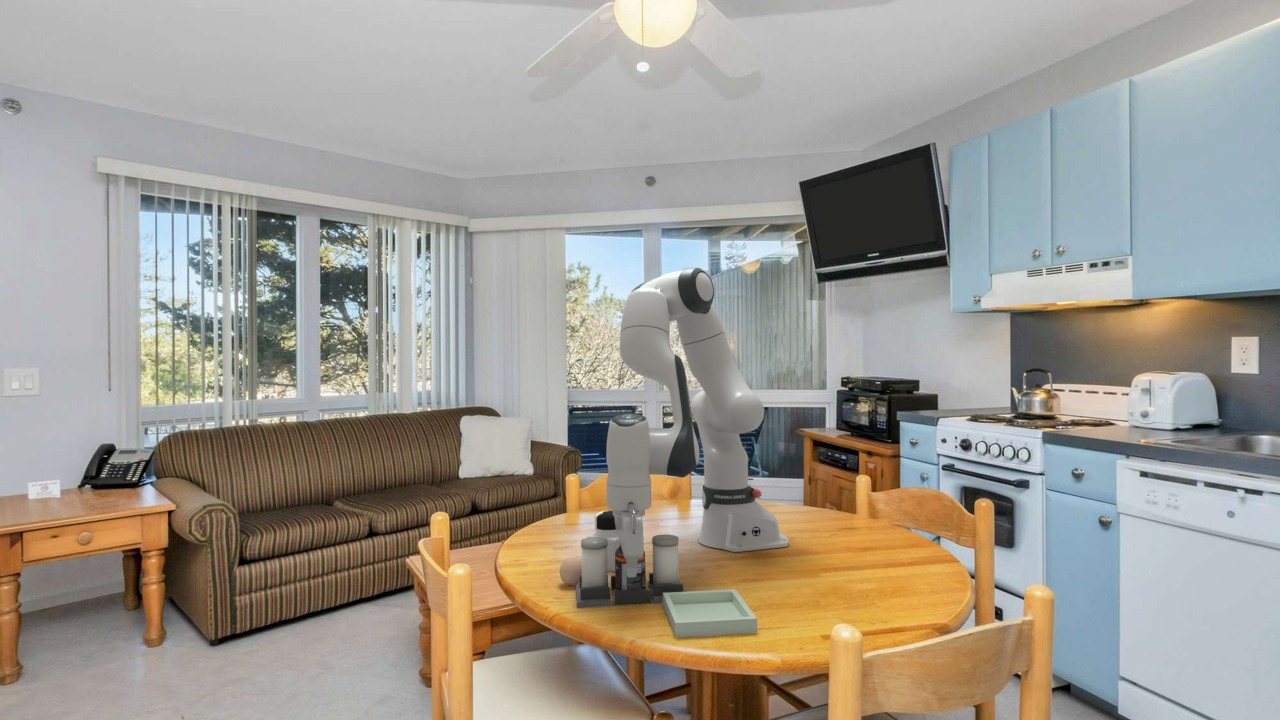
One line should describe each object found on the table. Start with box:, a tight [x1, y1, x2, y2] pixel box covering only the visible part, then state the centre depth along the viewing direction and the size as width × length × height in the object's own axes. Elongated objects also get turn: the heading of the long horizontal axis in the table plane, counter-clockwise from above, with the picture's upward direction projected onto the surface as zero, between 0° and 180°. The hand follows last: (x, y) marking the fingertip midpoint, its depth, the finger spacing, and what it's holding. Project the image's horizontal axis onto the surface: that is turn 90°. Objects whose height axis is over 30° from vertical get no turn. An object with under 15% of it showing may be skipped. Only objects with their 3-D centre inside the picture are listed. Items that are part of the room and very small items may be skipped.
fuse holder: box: [575, 533, 686, 609], centre depth 126 cm, size 21×10×11 cm, turn 97°
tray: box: [662, 588, 758, 638], centre depth 114 cm, size 14×14×2 cm
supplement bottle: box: [614, 545, 646, 590], centre depth 126 cm, size 6×6×11 cm
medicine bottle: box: [586, 510, 620, 573], centre depth 144 cm, size 7×7×12 cm
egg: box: [559, 555, 582, 587], centre depth 132 cm, size 5×5×6 cm
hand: (628, 568), depth 126 cm, fingers open, 8 cm apart
